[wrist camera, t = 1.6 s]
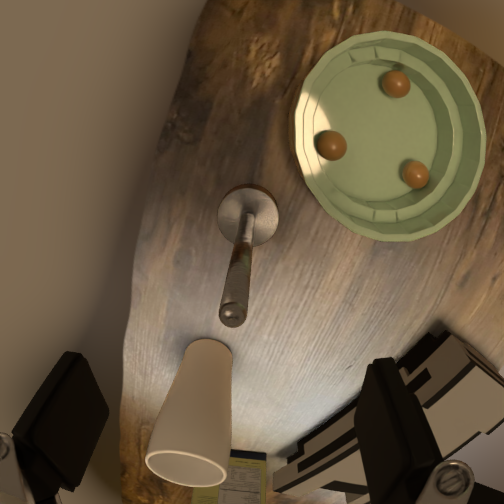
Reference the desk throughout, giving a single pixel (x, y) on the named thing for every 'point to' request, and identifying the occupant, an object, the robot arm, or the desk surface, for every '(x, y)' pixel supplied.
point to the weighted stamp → (243, 243)
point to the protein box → (237, 482)
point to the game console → (434, 406)
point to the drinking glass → (195, 419)
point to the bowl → (388, 136)
